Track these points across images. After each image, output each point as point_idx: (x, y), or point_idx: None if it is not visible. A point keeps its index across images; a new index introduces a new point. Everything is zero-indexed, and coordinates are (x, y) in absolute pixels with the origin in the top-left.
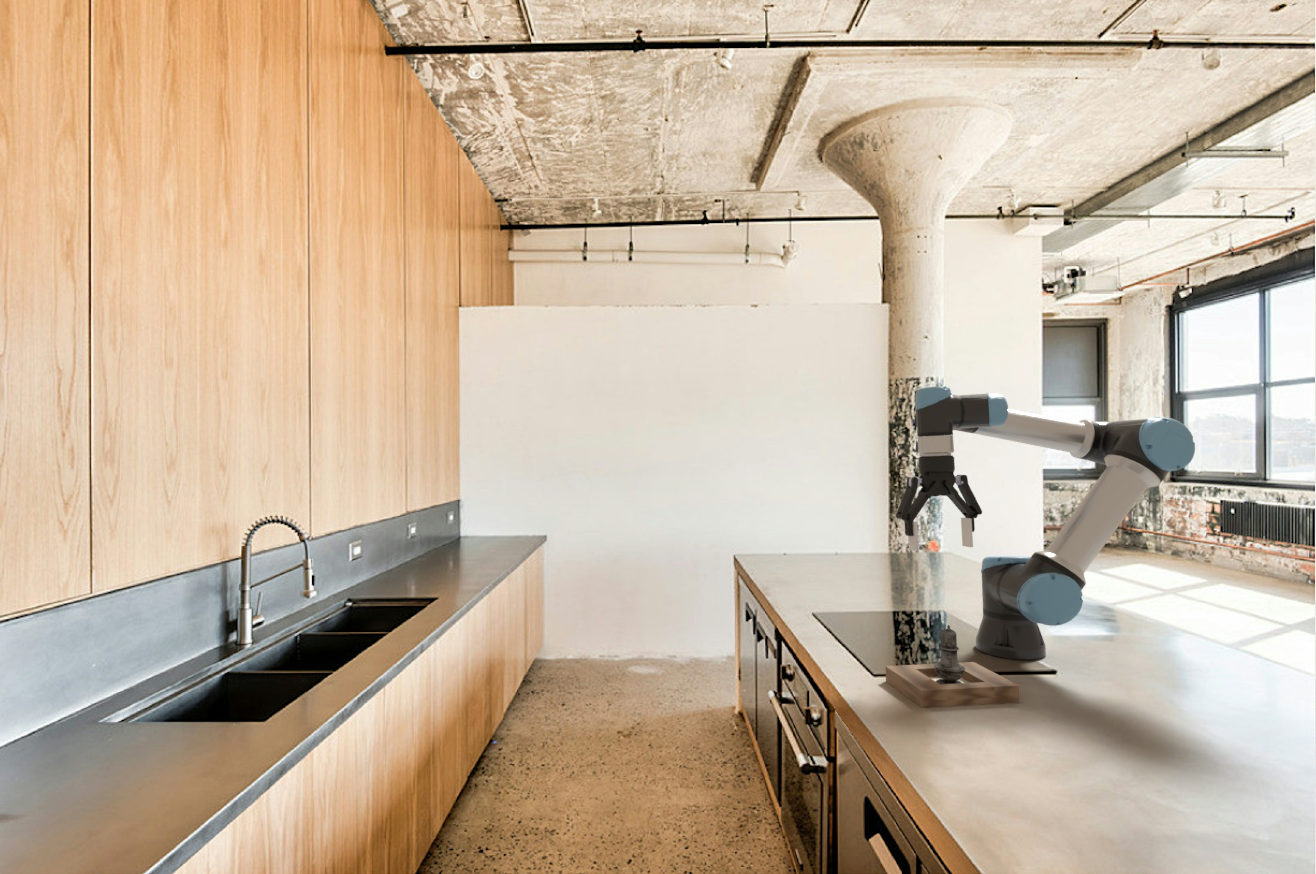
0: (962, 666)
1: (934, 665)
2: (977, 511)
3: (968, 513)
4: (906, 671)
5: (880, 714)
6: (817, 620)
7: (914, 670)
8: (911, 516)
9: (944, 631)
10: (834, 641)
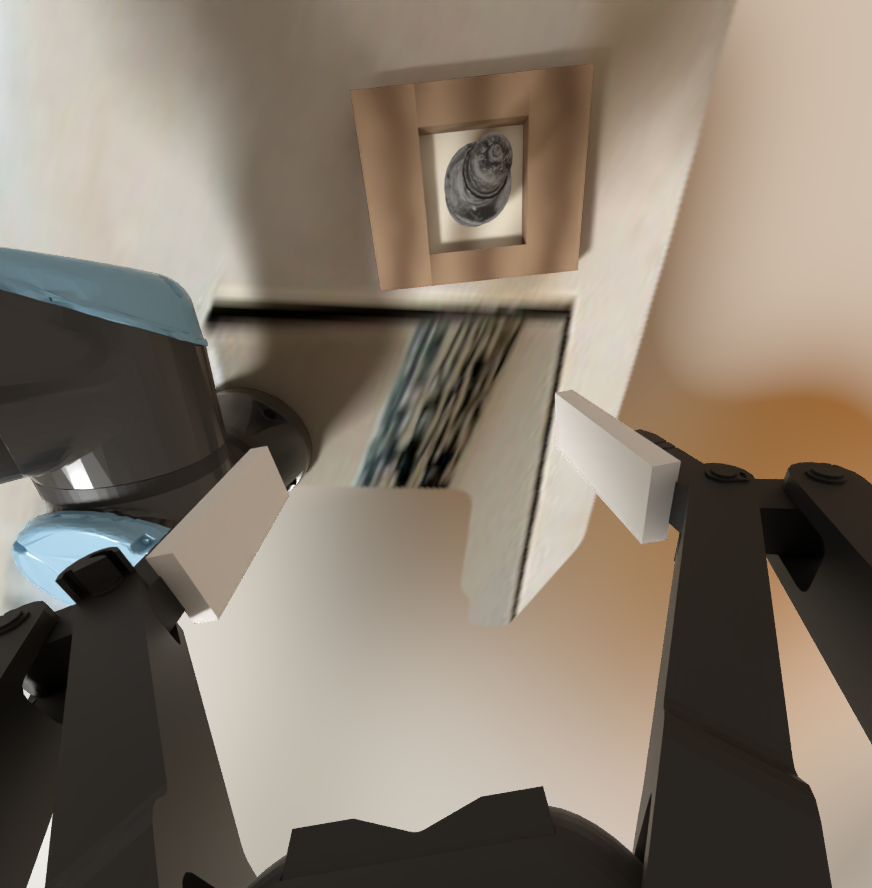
0: (450, 176)
1: (509, 193)
2: (29, 623)
3: (138, 593)
4: (554, 226)
5: (685, 43)
6: (518, 605)
7: (533, 233)
8: (741, 489)
9: (509, 149)
10: (543, 502)
